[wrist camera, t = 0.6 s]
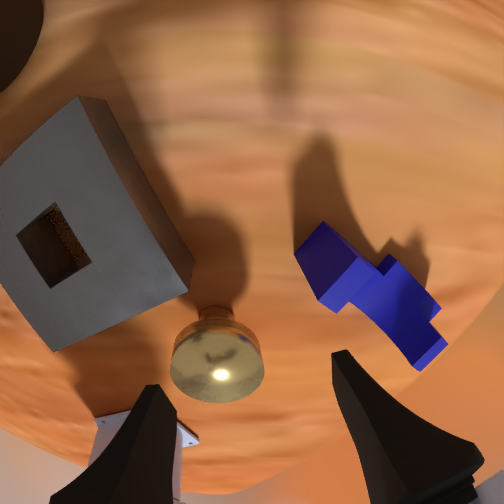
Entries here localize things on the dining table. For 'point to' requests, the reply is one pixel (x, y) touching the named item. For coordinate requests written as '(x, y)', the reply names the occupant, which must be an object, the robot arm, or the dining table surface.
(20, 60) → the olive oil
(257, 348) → the brass pin
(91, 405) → the dining table surface
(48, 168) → the block
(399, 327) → the blue angular block
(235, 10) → the dining table surface
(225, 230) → the dining table surface
